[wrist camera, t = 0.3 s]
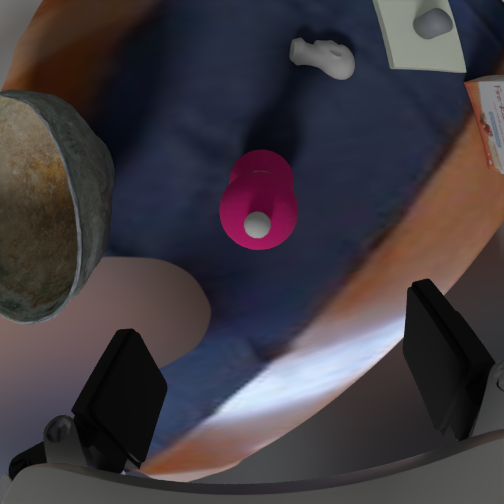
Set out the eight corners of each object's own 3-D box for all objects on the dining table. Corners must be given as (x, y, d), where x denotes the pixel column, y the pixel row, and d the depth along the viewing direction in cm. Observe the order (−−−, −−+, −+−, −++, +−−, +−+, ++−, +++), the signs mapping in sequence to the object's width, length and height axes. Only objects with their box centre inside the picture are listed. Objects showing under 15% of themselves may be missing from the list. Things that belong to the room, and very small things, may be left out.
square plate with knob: (369, -10, 26) (385, -27, 20) (441, 0, 24) (464, -12, 18) (390, 68, 31) (411, 61, 25) (460, 73, 29) (487, 69, 23)
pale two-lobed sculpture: (351, 59, 32) (344, 89, 32) (293, 36, 31) (282, 66, 31) (364, 44, 27) (357, 76, 28) (299, 19, 27) (288, 50, 27)
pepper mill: (283, 140, 36) (301, 161, 18) (296, 195, 39) (321, 267, 20) (227, 154, 37) (186, 189, 19) (241, 207, 40) (219, 287, 21)
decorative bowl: (141, 58, 31) (36, 34, 13) (184, 238, 42) (122, 331, 24) (13, 124, 35) (-80, 152, 17) (53, 260, 46) (-17, 326, 28)
